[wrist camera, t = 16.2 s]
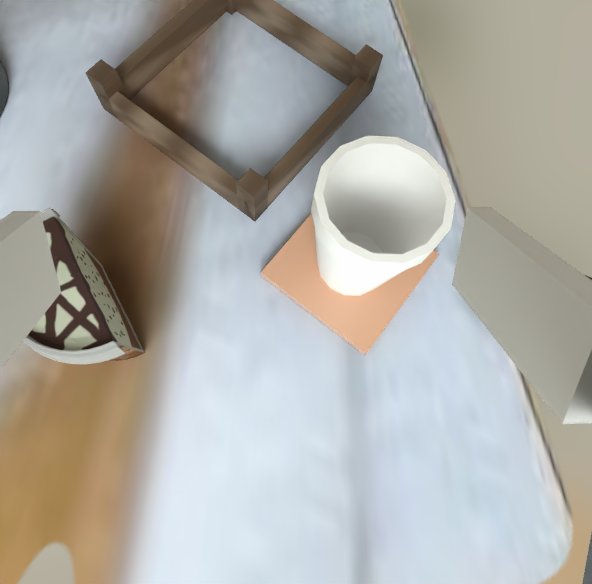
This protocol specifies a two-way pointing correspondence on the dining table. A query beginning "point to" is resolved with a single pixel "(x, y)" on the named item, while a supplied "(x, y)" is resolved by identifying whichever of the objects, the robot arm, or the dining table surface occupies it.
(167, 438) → the dining table surface
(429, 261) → the terracotta tile
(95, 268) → the cake slice
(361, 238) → the foam cup
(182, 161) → the frame
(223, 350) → the dining table surface
